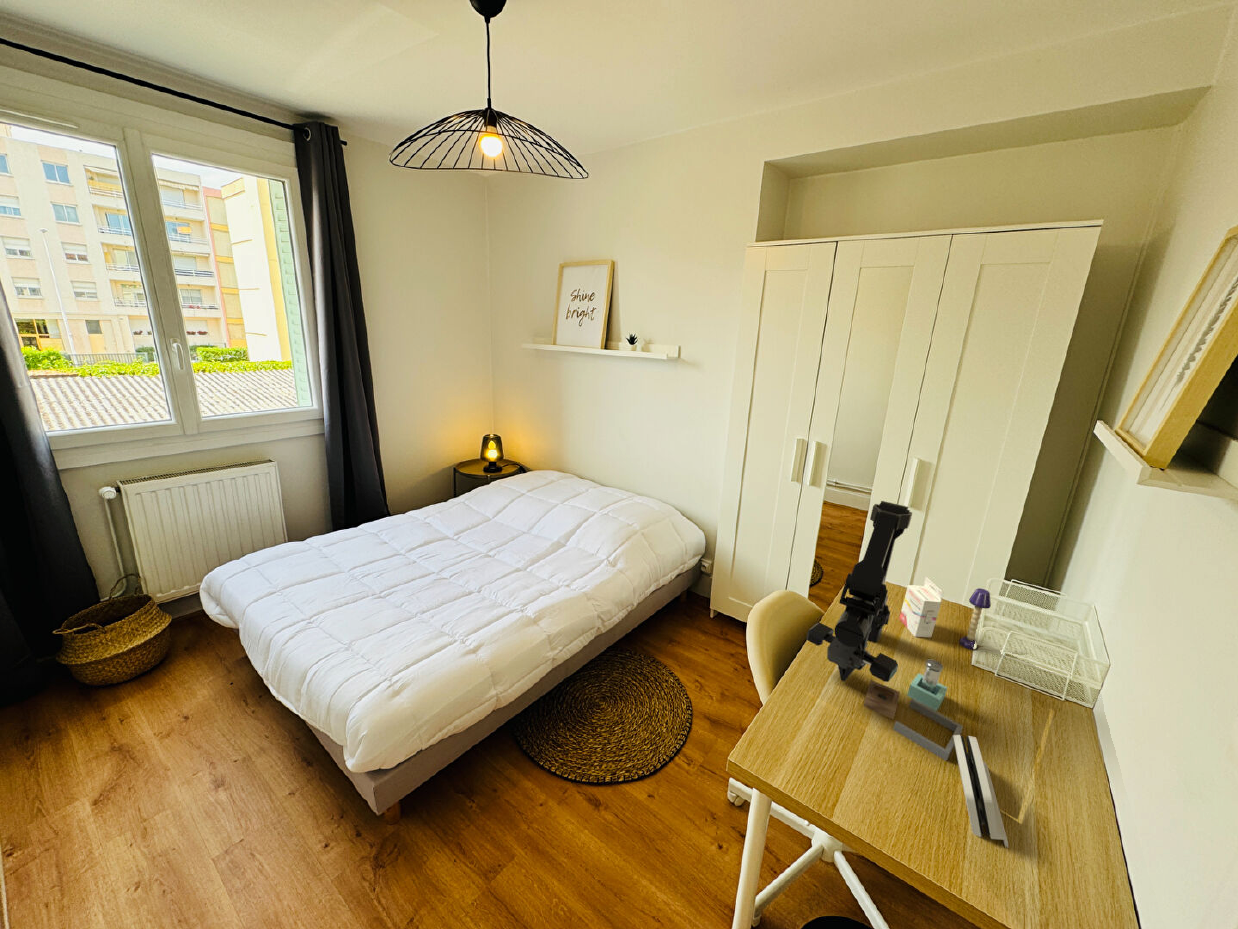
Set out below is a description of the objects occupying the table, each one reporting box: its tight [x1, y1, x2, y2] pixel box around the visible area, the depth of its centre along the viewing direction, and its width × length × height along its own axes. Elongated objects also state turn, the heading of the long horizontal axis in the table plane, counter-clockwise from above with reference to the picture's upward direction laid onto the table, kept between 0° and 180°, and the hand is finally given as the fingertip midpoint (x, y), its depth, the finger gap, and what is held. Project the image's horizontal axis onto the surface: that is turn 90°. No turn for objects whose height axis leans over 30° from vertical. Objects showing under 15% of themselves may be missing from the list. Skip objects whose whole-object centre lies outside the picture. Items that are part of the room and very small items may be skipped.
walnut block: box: [862, 679, 901, 720], centre depth 107 cm, size 6×6×4 cm
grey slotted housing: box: [952, 734, 1010, 849], centre depth 86 cm, size 17×5×10 cm, turn 153°
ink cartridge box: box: [898, 576, 944, 638], centre depth 135 cm, size 9×5×15 cm, turn 179°
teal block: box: [907, 672, 948, 712], centre depth 110 cm, size 6×6×4 cm
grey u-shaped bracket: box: [892, 698, 964, 762], centre depth 101 cm, size 10×11×2 cm
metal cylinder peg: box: [921, 658, 944, 694], centre depth 109 cm, size 3×3×9 cm
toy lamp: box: [958, 588, 992, 650], centre depth 129 cm, size 5×5×17 cm
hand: (843, 680), depth 113 cm, fingers closed
